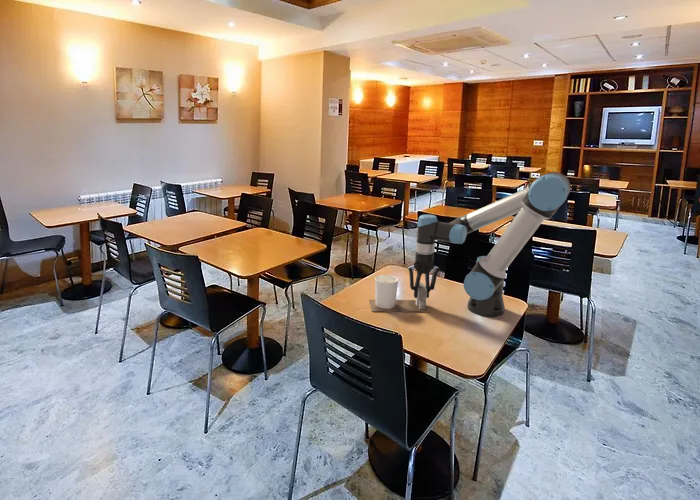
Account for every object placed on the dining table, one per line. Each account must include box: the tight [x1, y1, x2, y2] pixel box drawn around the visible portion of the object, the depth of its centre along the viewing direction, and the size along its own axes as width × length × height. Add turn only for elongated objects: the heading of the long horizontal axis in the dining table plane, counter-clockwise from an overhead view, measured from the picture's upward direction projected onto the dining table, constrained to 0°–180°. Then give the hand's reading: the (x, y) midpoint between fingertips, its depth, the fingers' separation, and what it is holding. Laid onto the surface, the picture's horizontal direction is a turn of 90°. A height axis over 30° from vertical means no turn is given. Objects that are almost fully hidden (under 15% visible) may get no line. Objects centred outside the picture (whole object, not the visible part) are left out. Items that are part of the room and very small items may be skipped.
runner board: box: [369, 282, 430, 313], centre depth 188 cm, size 24×12×9 cm, turn 93°
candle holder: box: [374, 274, 399, 309], centre depth 187 cm, size 10×10×12 cm
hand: (420, 304), depth 190 cm, fingers closed on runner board, 2 cm apart
